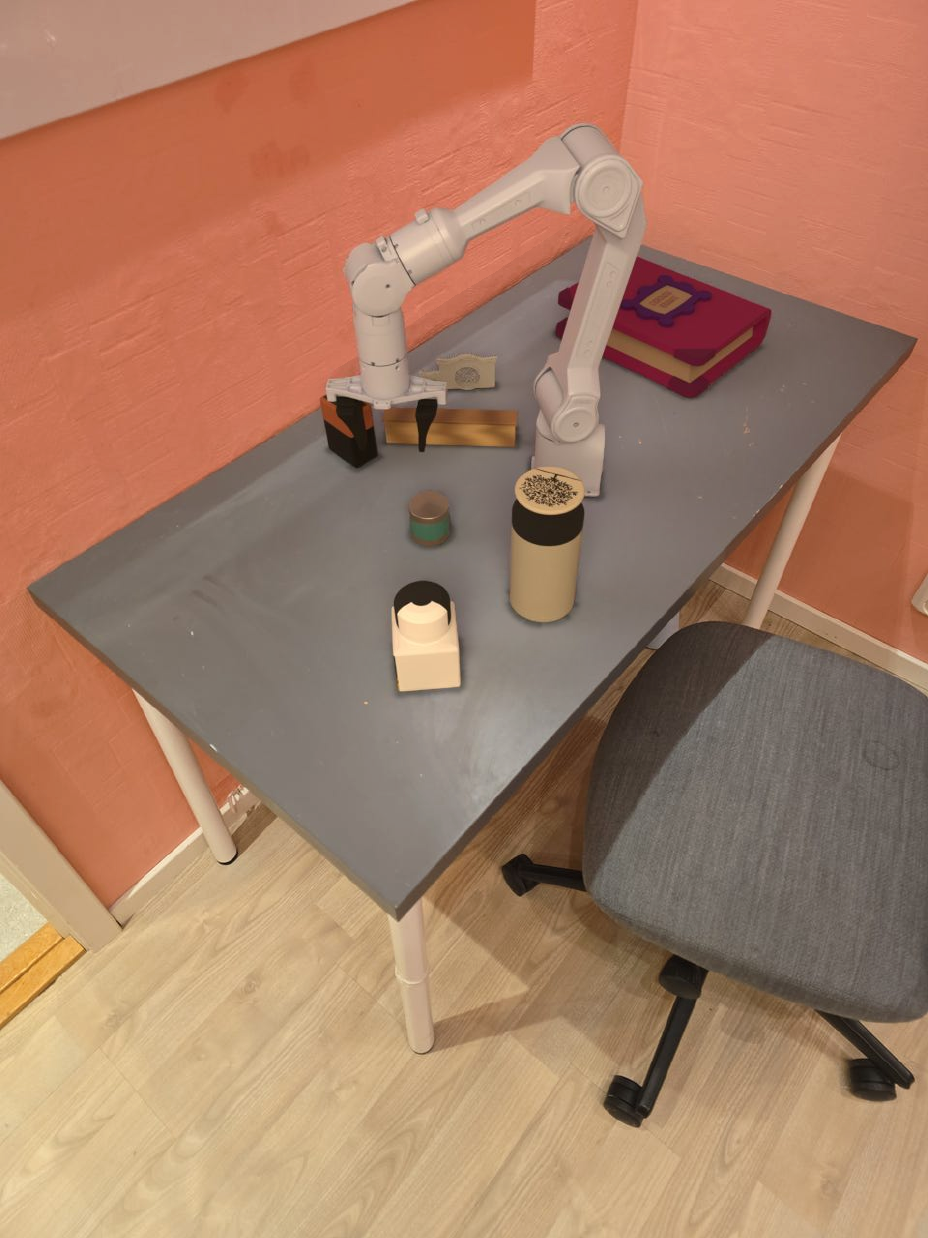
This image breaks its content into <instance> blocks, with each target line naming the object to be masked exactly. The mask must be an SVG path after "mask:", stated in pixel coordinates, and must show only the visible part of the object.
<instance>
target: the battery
mask: <svg viewBox="0 0 928 1238" xmlns="http://www.w3.org/2000/svg"><path fill="white" fill-rule="evenodd" d="M362 402H363V415H364V421H365V426H366V431H367V444H366V448H365V450H360V449H359V446H358V444H357V442H356V440H355V438H354V436H353V434H352V432H351V431H350V429H349V428H348V427H347V425H346V424H345V423H344V422H343V421H342V420H341V419H340V418H339V417H338V416H337V413H336V407H337V401H335V402H330V401H328V400H327V394H326V393H325V394H324V395H322V396H321V397H320V398H319V404H320V409H321V415H322V420H323V425H324V426H323V427H324V430H325V431H324V432H325V436H326V441H327V447H328V449H329V450H330V451H331V452H332V453H334V454H335V455H337V456H338V457H339V458H341V459H342V460H343V461H345V462H346V463H348V464H349V465H350V466H352V467H353V468H355V469H359V468H360V467H362V466H363V465H365V464H367V463H368V462H371V461H372V460H374V459H375V458H377V457H378V454H379V453H378V445H377V438H376V437H377V436H376V429H375V424H374V416H373V408H372V404H371V403H368V402H365V401H362Z"/></svg>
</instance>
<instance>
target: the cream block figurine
mask: <svg viewBox="0 0 928 1238" xmlns="http://www.w3.org/2000/svg"><path fill="white" fill-rule="evenodd" d="M393 598H394V599H393V606H392V607H391V609H390V611H391V613H390V614H391V635H392V636H391V637H392V638H391V639H392V657H393V664H394V670H395V671H394V672H395V678H396V684H397V690H398V691H399V692H413V691H425V690H427V691H428V690H436V689H437V690H438V689H450V688H451V689H452V688H459V687H460V686H461V684H462V683H461V682H462V679H461V678H462V677H461V659H460V644H459V643H460V642H459V634H458V632H459V631H458V624H457V614H456V606H455V605H456V604H455V602H454V601H452V600H451V595H450V594H449V592H448V590H446V588H445V587H443V585H441V584H438V583H437V582H434V581H431V580H415V581H411V582H409V583H407V584H406V585H404V586H403V587H401V588H400V589H399V590H398V591H397V593H396V594H395V596H394V597H393Z"/></svg>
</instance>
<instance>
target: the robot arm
mask: <svg viewBox="0 0 928 1238" xmlns="http://www.w3.org/2000/svg"><path fill="white" fill-rule="evenodd" d="M643 186H644V182H643V179H642V178H641V177H640V176H639V174H638V173H637V171H636V169H634V167H633V166H632V165H631V163H630V162H629V161H628V160H627V159H626V158H625V157H623V156H622V155H621V154H620V152H619V151H618V150H617V149H616V147H615V146H614V144H612V142H611V141H610V140H609V138H608V136H607V135H606V134H605V132H603V130H602V129H601V128H600V127H598V126H597V125H595V124H593V123H590V122H579V123H575V124H573V125H571V126H569V127H567V128H566V129H565V130H564V131H563V132H561V134H559V135H557V134H556V135H554V136H552V137H550V138H547V139H546V140H545V141H543V142H542V144H541V145H540V146H539V147H538V148H537V149H536V150H535V151H534V152H533V154H532V155H531V156H529V157H528V158H527V159H526V160H524V161H522V162H521V163H520V164H518V165H517V166H515V167H513V168H512V169H511V170H509V171H508V172H506V173H505V174H504V175H502V176H501V177H499V178H498V179H497V180H495V181H493V182H492V183H491V184H489V185H488V186H486V187H485V188H483V189H482V190H480V191H479V192H477V193H476V194H475V195H473V196H472V197H470V198H469V199H467V200H466V201H465V202H463V203H461V204H459V206H457V207H455V208H454V209H450V208H445V207H441V206H435V207H433V208H431V209H430V210H426V208H424V207H423V208H421V209H419V210H417V211H416V212H415V213H413V215H414V218H415V219H413V220H411V221H410V222H408V223H406V224H404V225H403V226H402V227H400V228H398V229H396V230H395V231H393V232H392V233H390V234H388V235H387V236H384V235H380V236H379V237H377V238H376V239H375V241H372V242H369V241H366V242H363V243H360V244H358V245H357V246H355V247H353V248H352V249H351V251H349V253H348V257H346V260H345V263H344V267H343V269H342V271H343V275H344V277H345V279H346V281H347V284H348V288H349V292H350V297H351V299H352V302H351V308H352V313H353V315H352V323H353V329H354V330H353V331H354V337H355V344H356V353H357V357H358V359H357V360H358V365H359V366H358V367H359V372H360V374H358V375H353V376H347V377H341V378H328V379H327V382H326V385H325V395H326V394H327V400H328V401H330V402H335V401H337V407H336V413H337V416H338V417H339V418H340V419H341V420H342V421H343V422H344V423H345V424H346V425H347V427H348V428H349V429H350V431H351V432H352V434H353V436H354V438H355V440H356V442H357V444H358V446H359V449H360V450H365V448H366V444H367V431H366V426H365V421H364V415H363V402H362V401H365V402H367V403H369V404H371V405H372V404H373V409H375V410H382V411H383V410H387V409H390V408H391V407H392V405H393V406H394V405H398V404H404V403H409V402H417V403H416V407H415V408H416V412H415V418H416V422H417V428H418V444H417V446H418V452H419V453H425V452H426V447H427V444H426V437H427V433H428V431H429V428H430V426H431V424H432V422H433V420H434V418H435V416H436V412H437V409H438V406H441V405H442V406H446V405H447V400H448V389H447V382H439V381H436V380H435V381H434V380H429V379H425V378H421V377H420V376H416V375H413V374H410V371H409V361H408V348H407V347H408V346H407V338H406V325H405V315H404V313H403V311H402V305H403V304H404V301H405V300H406V296H407V294H408V293H409V292H411V291H413V289H414V288H415V287H416V286H418V285H420V284H422V283H424V282H425V281H427V280H429V279H430V278H432V277H434V276H435V275H437V274H439V273H440V272H443V271H444V270H445V269H448V268H449V267H451V266H453V265H454V264H456V263H458V262H459V261H461V260H462V259H463V257H464V255H465V253H466V250H467V247H468V244H469V242H470V241H472V240H475V239H476V238H478V237H481V236H482V235H484V234H486V233H489V232H490V231H492V230H494V229H496V228H498V227H500V226H502V225H504V224H507V222H510V221H512V220H513V219H515V218H518V217H520V216H521V215H522V216H523V214H526V213H527V212H529V211H531V210H533V209H535V208H541V209H544V210H547V211H552V212H555V213H558V214H562V215H567V216H570V215H571V213H572V211H571V210H572V209H571V204H573V203H575V205H576V207H577V210H578V211H579V213H580V214H581V215H582V216H584V217H585V218H586V219H588V220H589V221H590V222H592V223H593V225H594V230H593V234H592V238H591V240H590V244H589V248H588V252H587V255H586V258H585V261H584V265H583V268H582V271H581V275H580V278H579V280H578V282H579V284H578V288H577V291H576V294H575V298H574V301H573V304H572V308H571V311H570V310H569V315H568V317H569V318H568V317H567V318H568V321H567V324H566V328H565V331H564V334H563V338H562V339H561V341H560V344H559V348H558V351H556V352H553V353H550V354H548V357H547V360H546V362H545V365H544V367H543V368H542V370H541V371H540V372H539V373H538V374H537V376H536V377H535V379H534V380H533V384H532V393H533V396H534V398H535V400H536V401H537V402H538V403H539V406H540V407H539V412H538V415H537V417H536V424H535V441H534V442H535V444H534V445H535V446H534V455H532V456H531V464H530V466H531V467H530V470H532V469H535V468H539V467H558V468H562V469H565V470H568V471H570V472H572V473H573V474H575V475H576V476H577V477H578V478H579V479H580V480H581V481H582V483H583V485H584V489H585V494H584V497H591V498H593V497H594V498H596V497H599V496H600V494H601V493H600V488H601V480H602V474H603V472H604V457H605V447H606V446H605V445H606V424H605V423H603V422H599V421H600V414H599V402H600V400H601V396H602V395H601V383H600V374H599V367H600V365H601V361H602V358H603V357H602V356H603V353H604V350H605V347H606V344H607V341H608V339H609V336H610V333H611V330H612V327H613V324H614V321H615V318H616V315H617V312H618V309H619V307H620V304H621V301H622V298H623V295H624V292H625V289H626V286H627V283H628V280H629V278H630V275H631V272H632V269H633V266H634V263H635V260H636V257H638V254H639V251H640V248H641V245H642V243H643V239H644V236H645V235H646V230H647V226H648V220H647V216H646V211H645V204H644V199H643V193H642V188H643Z"/></svg>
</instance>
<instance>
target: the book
mask: <svg viewBox="0 0 928 1238" xmlns="http://www.w3.org/2000/svg"><path fill="white" fill-rule="evenodd" d="M578 284H579V281H577V282H576V283H574V284H572V285H571V286H567V287H566V288H564V289H562V290H560V291H559V292H558V294H557V304H558V305H559V306H560V307H562V308H564V309H566V310H568V311H569V312H570V311H571V308H572V304H573V301H574V298H575V294H576V291H577V288H578ZM772 313H773V312H772V309H771V308H770V307H769V308H768V307H766V306H764V305H761V304H759V303H756V302H754V301H751V300H748V299H746V298H744V297H742V296H738V295H736V294H734V293H731V292H728V291H725V290H723V289H721V288H718V287H715V286H713V285H711V284H708V283H705V282H703V281H700V280H697V279H695V278H692V277H691V276H688V275H685V274H682V273H680V272H678V271H675V270H672V269H670V268H668V267H665V266H662V265H660V264H658V263H655V262H653V261H650V260H648V259H645V258H643V257H639V256H637V257H636V260H635V263H634V266H633V269H632V272H631V275H630V278H629V280H628V283H627V286H626V289H625V292H624V295H623V298H622V301H621V304H620V307H619V309H618V312H617V315H616V318H615V321H614V324H613V327H612V330H611V333H610V336H609V339H608V341H607V344H606V347H605V350H604V353H603V356H602V358H605V359H606V360H609V361H611V362H613V363H615V364H617V365H618V366H619V365H620V366H621V367H624V368H626V369H627V370H629V371H632V372H634V373H636V374H638V375H640V376H642V377H645V378H647V379H649V380H651V381H653V382H655V383H656V384H660V385H661V386H664V387H666V388H667V390H669V391H671V392H674V393H676V394H678V395H680V396H682V397H685V398H688V399H692V398H697V397H698V396H700V395H701V394H702V393H703V392H705V391H706V390H707V389H708V387H709V386H710V385H712V384H713V383H714V382H716V381H717V380H718V379H719V378H721V377H722V376H723V375H724V374H726V373H727V372H729V370H731V369H733V367H735V366H736V365H738V364H739V363H740V362H741V361H742V360H744V359H745V358H746V357H748V356H749V355H750V354H751V353H753V352H754V351H755V350H757V349H758V348H759V347H760V346H761V344H762V343H763V341H764V339H765V337H766V335H767V332H768V330H769V325H770V321H771V318H772ZM568 318H569V316H568V317H567V316H566V317H565V318H563V319H562V320H560V321H559V322H556V325H555V336H556V337H557V338H559V339H560V340H562V338H563V334H564V331H565V328H566V324H567V321H568Z"/></svg>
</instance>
